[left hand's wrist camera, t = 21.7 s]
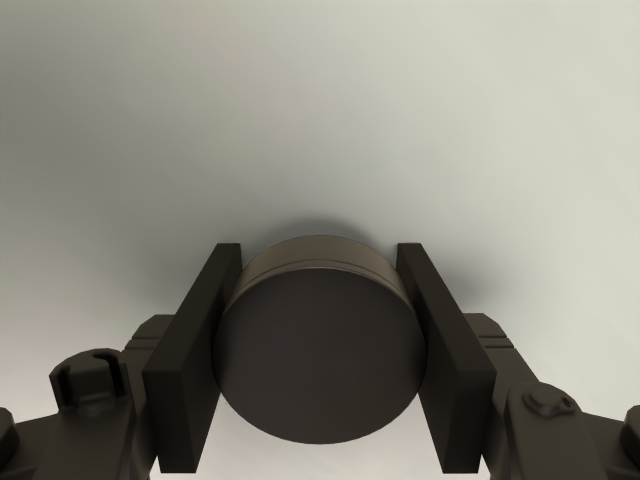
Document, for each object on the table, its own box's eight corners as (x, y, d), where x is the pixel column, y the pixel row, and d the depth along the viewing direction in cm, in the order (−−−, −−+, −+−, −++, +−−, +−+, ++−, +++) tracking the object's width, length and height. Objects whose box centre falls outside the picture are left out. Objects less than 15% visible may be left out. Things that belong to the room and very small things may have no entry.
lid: (189, 319, 12) (166, 364, 10) (319, 194, 11) (319, 219, 9) (319, 419, 14) (319, 474, 12) (449, 319, 12) (472, 364, 10)
